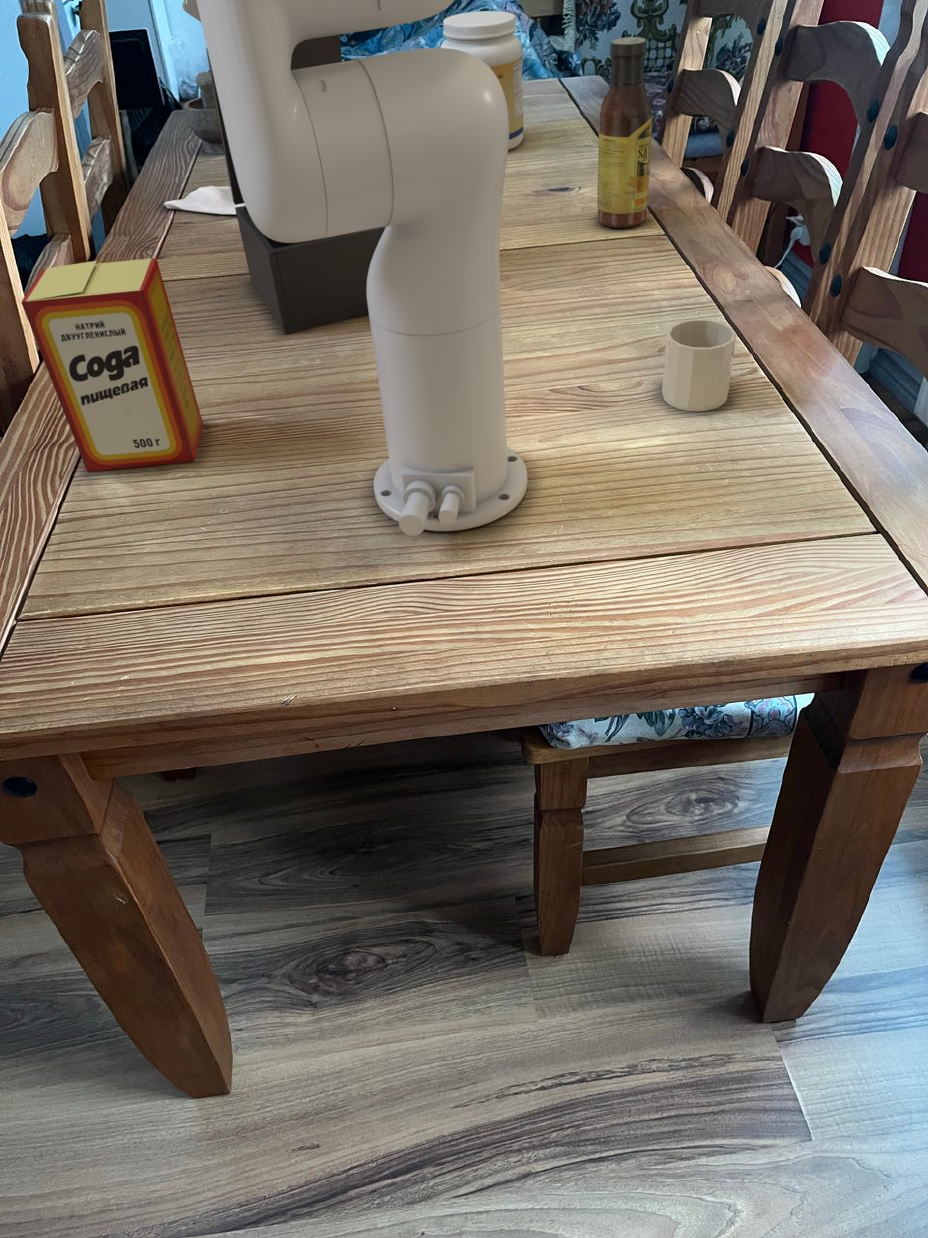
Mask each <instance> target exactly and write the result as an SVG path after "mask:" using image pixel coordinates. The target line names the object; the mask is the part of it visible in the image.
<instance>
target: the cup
mask: <svg viewBox="0 0 928 1238" xmlns="http://www.w3.org/2000/svg"><path fill="white" fill-rule="evenodd" d="M736 338H737V333H736V331H735V330H734V329H733V327H732V326H730V325H728V324H726V323H725V322H723V321H718V320H713V319H709V318H692V319H687V320H683V321H678V322H676V323H674V324H673V325H671V326H669V328H668V330H667V332H666V336H665V349H664V360H663V361H664V362H663V374H662V384H661V385H662V386H661V393H662V399H663V401H664V402H666V404H668V405H669V406H671V407H673V408H675V409H678V410H682V411H686V412H707V411H711V410H715V409H718V408H719V407H721V406H723V405H724V404H725V403H726V402H727V400H728V397H729V392H730V384H731V379H732V369H733V361H734V354H735V347H736Z"/></svg>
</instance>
